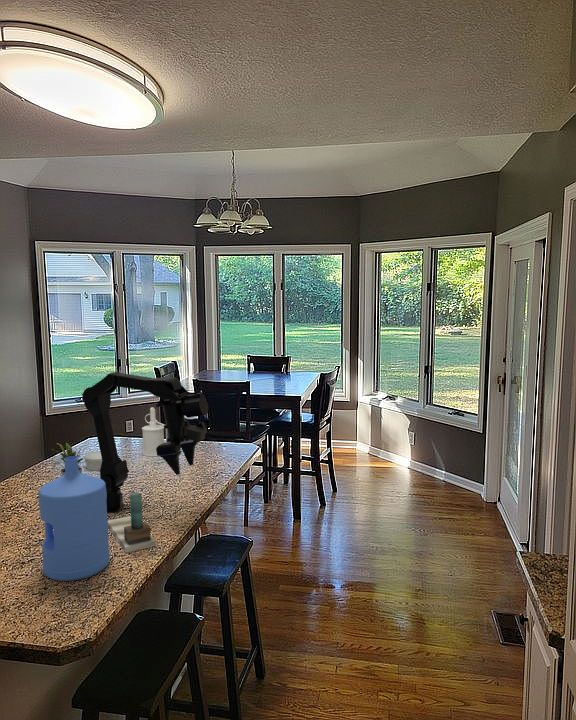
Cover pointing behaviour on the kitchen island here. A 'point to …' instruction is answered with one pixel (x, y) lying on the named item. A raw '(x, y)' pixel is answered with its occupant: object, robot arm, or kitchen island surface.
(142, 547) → the off-white shallow tray
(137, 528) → the teal brown tall piece
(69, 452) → the house plant
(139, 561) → the kitchen island surface
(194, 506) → the kitchen island surface
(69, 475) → the water jug
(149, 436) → the white oil can
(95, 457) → the ramekin
